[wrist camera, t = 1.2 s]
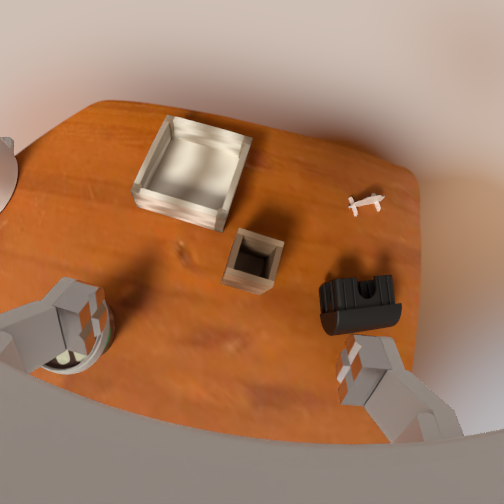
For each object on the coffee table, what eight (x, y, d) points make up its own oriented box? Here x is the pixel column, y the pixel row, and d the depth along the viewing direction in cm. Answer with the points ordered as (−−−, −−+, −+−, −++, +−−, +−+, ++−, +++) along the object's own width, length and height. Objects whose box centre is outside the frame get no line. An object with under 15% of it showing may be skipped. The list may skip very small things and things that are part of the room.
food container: (72, 382, 37) (40, 393, 27) (51, 343, 37) (16, 344, 28) (141, 341, 40) (125, 344, 30) (119, 301, 41) (97, 292, 31)
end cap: (319, 335, 44) (339, 335, 37) (314, 286, 46) (333, 278, 39) (379, 327, 46) (404, 325, 39) (374, 281, 47) (398, 273, 41)
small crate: (220, 283, 43) (225, 272, 36) (232, 245, 45) (239, 227, 37) (259, 295, 44) (272, 287, 36) (269, 257, 45) (284, 242, 38)
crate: (137, 206, 44) (130, 190, 39) (169, 135, 48) (167, 114, 42) (222, 232, 45) (225, 219, 40) (247, 157, 49) (252, 138, 43)
